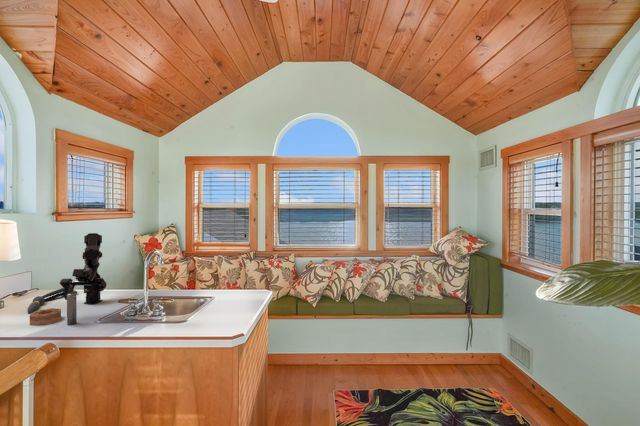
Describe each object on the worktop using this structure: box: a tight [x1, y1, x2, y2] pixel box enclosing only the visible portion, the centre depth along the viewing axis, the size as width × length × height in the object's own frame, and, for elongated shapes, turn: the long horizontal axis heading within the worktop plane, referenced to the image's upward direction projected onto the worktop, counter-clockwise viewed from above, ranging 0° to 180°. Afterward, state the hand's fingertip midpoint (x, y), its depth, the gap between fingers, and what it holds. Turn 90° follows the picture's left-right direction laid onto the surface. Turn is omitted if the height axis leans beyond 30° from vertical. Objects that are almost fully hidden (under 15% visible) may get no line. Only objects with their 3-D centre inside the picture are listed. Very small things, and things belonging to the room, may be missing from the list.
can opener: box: [42, 287, 78, 303], centre depth 190 cm, size 18×7×6 cm, turn 160°
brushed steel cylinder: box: [66, 293, 78, 326], centre depth 152 cm, size 4×4×14 cm
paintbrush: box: [26, 295, 46, 314], centre depth 173 cm, size 20×5×5 cm, turn 31°
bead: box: [29, 307, 62, 326], centre depth 155 cm, size 11×11×4 cm
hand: (76, 299), depth 155 cm, fingers open, 9 cm apart
